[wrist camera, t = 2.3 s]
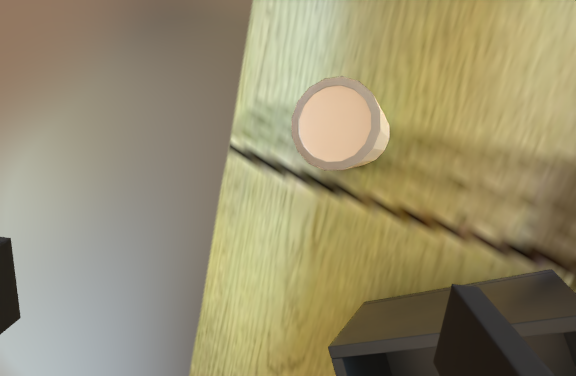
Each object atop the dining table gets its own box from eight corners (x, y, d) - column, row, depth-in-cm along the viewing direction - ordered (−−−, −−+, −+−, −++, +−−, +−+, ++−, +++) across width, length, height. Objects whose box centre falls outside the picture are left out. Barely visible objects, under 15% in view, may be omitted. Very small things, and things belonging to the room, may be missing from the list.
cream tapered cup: (368, 187, 33) (346, 189, 26) (309, 147, 35) (275, 140, 29) (413, 119, 31) (400, 104, 24) (347, 82, 33) (320, 59, 27)
